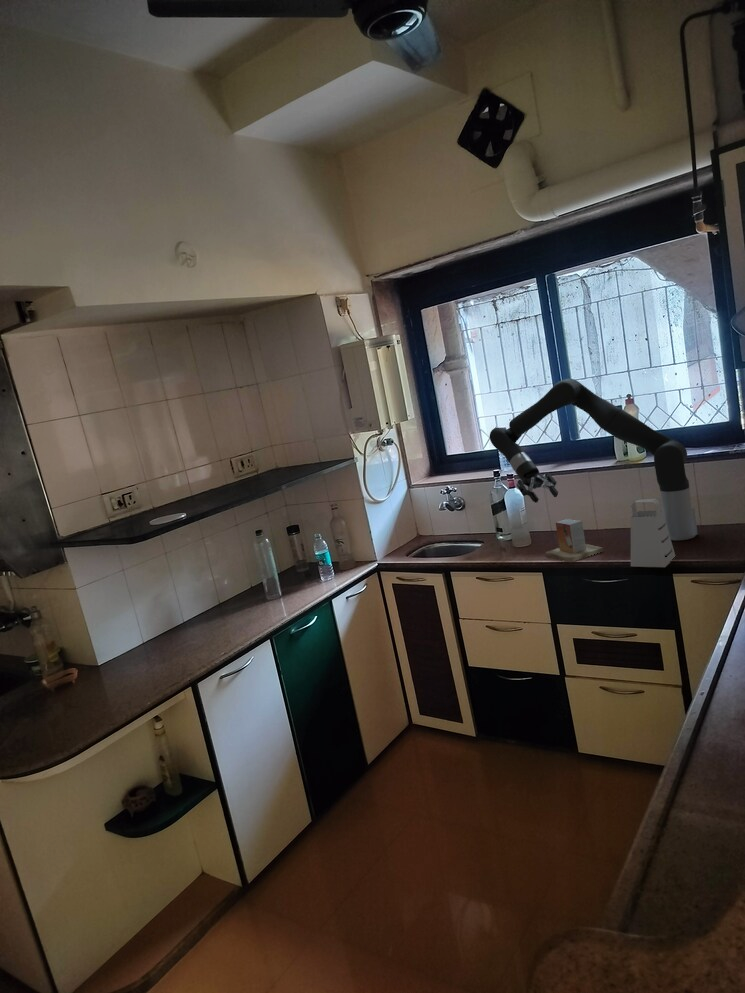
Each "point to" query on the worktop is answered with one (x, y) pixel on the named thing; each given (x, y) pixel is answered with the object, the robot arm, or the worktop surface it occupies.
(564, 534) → the small box
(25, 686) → the worktop surface
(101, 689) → the worktop surface
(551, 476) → the robot arm
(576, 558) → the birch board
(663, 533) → the grater
